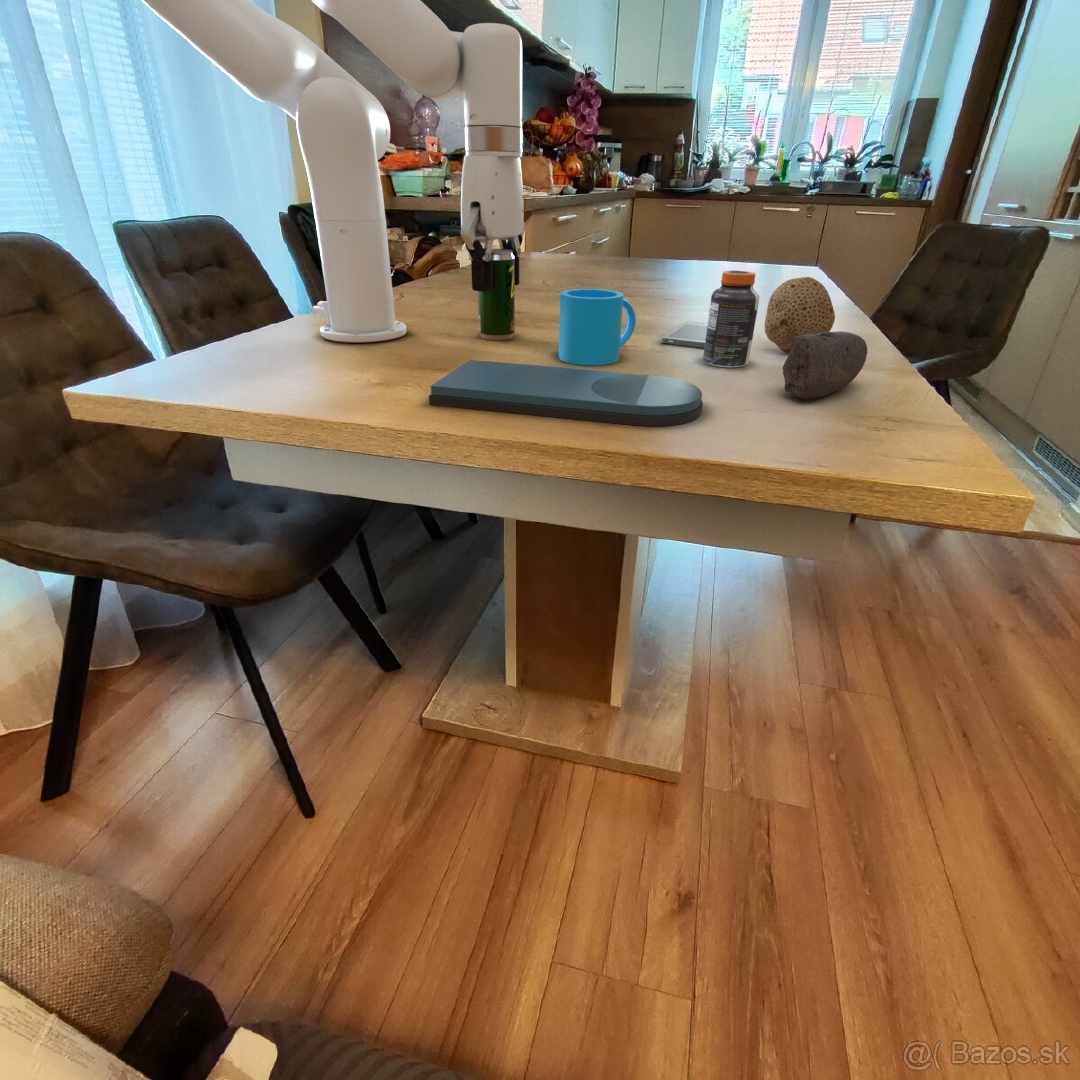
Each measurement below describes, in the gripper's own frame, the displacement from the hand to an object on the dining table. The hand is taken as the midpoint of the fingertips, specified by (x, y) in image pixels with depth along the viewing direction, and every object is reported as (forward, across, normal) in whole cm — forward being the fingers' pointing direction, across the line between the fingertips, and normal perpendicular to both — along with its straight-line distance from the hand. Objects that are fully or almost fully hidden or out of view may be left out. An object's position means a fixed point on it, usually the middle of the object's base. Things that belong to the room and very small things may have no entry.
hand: (496, 286), depth 93 cm
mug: (+7, +3, +18) cm, 20 cm away
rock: (+7, +6, +47) cm, 48 cm away
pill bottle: (+7, -2, +34) cm, 35 cm away
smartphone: (+7, -16, +27) cm, 32 cm away
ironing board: (+7, +23, +23) cm, 34 cm away
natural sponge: (+7, -13, +41) cm, 44 cm away
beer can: (+7, 0, 0) cm, 7 cm away
